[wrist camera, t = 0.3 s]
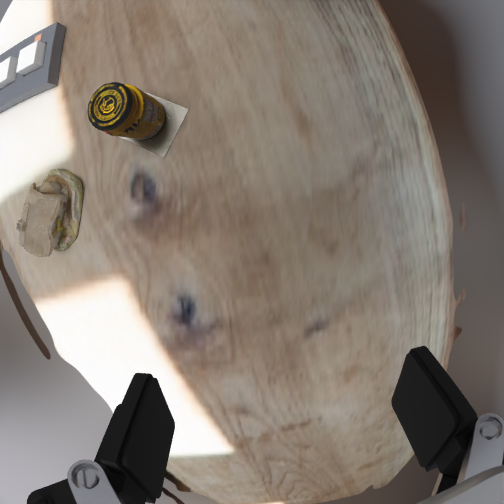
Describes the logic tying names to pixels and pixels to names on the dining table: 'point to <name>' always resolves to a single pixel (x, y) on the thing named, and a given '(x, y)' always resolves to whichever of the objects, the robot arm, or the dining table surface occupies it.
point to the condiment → (136, 116)
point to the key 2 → (8, 71)
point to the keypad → (38, 78)
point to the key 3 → (31, 58)
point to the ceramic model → (51, 214)
